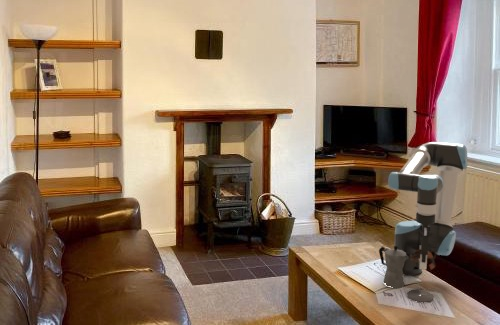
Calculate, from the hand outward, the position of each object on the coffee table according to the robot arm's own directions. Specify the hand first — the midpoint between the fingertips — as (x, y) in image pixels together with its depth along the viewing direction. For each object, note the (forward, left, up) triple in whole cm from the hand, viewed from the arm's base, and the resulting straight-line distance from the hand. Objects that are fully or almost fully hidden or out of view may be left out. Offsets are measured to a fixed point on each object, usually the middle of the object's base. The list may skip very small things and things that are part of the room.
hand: (422, 264), depth 228 cm
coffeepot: (-11, -12, -15) cm, 22 cm away
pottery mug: (0, +1, -1) cm, 1 cm away
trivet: (0, 0, -14) cm, 14 cm away
